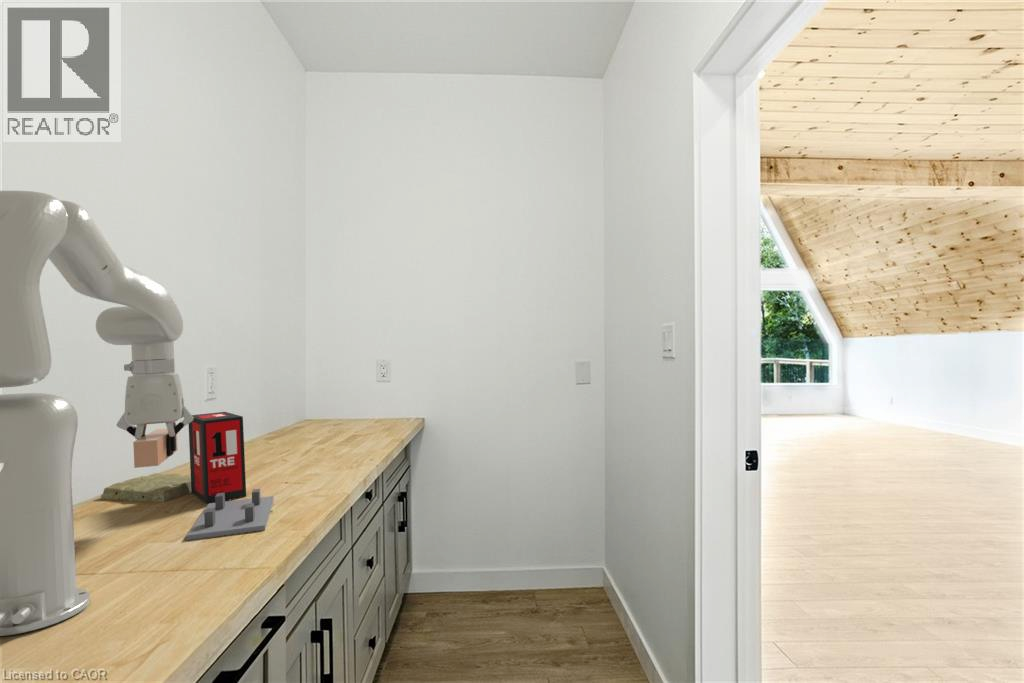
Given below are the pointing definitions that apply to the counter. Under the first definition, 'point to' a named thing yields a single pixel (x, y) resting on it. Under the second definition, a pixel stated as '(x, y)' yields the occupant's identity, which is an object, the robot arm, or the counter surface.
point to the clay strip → (151, 449)
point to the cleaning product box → (217, 456)
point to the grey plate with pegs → (232, 516)
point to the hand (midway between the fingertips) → (157, 455)
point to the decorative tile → (150, 488)
